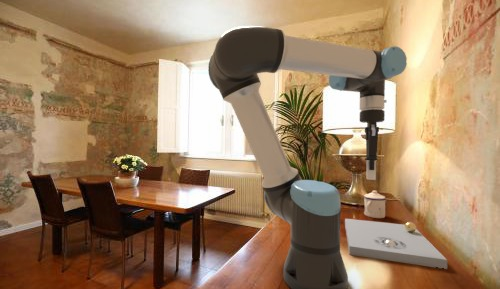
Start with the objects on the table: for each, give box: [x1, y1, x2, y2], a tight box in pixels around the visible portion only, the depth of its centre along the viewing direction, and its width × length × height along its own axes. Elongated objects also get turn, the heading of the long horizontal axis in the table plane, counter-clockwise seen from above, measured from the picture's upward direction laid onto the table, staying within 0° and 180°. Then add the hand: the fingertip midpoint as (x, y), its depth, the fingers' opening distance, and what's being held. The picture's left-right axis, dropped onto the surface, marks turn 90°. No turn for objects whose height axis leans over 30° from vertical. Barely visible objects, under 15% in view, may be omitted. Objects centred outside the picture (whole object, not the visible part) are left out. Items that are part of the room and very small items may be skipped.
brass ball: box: [404, 221, 417, 232], centre depth 81 cm, size 3×3×3 cm
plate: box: [344, 218, 448, 270], centre depth 79 cm, size 28×24×2 cm
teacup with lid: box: [363, 190, 387, 219], centre depth 108 cm, size 12×9×12 cm
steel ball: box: [384, 240, 396, 246], centre depth 72 cm, size 3×3×3 cm
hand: (371, 179), depth 79 cm, fingers closed
